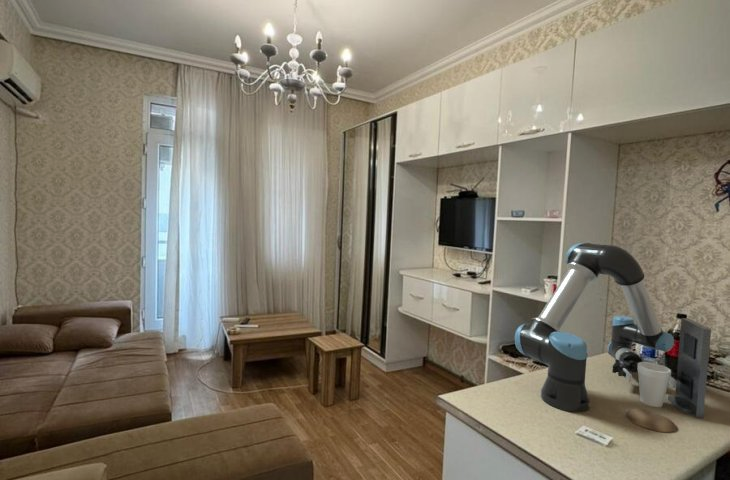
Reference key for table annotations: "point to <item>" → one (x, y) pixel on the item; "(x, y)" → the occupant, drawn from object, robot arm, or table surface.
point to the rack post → (692, 368)
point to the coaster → (650, 420)
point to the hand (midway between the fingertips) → (652, 381)
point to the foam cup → (653, 383)
